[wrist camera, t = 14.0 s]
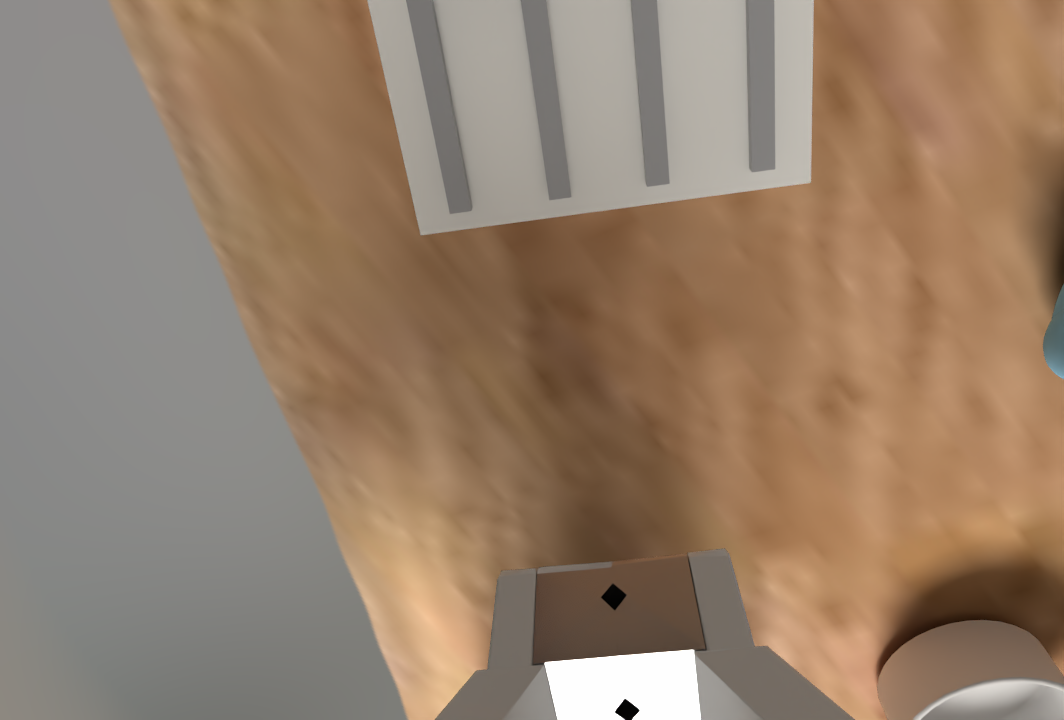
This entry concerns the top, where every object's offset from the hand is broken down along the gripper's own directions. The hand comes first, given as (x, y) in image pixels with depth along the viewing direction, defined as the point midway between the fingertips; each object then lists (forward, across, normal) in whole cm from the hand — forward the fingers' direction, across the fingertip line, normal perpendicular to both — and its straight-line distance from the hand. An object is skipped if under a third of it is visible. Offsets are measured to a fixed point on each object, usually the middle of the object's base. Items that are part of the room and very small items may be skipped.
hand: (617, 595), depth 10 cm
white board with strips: (+29, -1, -6) cm, 30 cm away
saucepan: (+29, -19, +42) cm, 55 cm away
